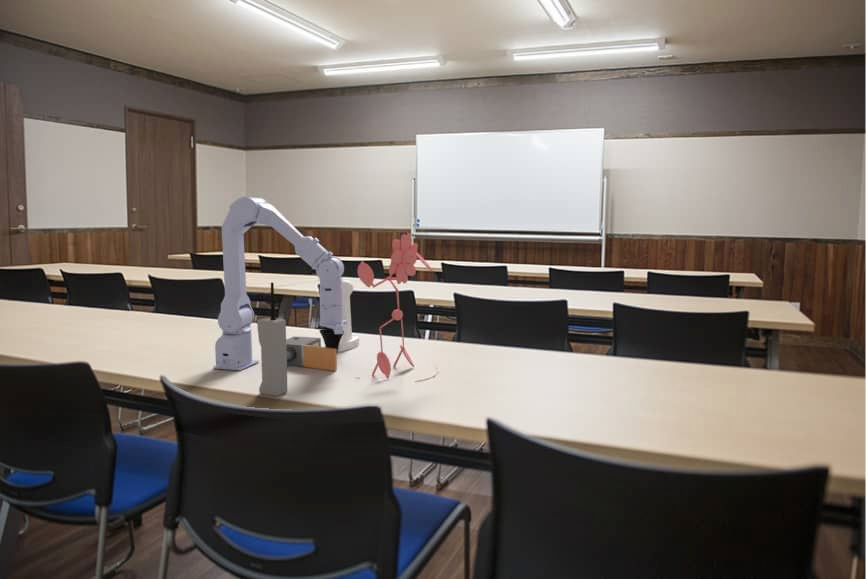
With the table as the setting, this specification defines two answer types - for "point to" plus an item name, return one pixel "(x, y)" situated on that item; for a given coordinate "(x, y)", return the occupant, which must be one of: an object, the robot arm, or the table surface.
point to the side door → (319, 357)
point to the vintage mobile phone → (273, 353)
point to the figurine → (403, 267)
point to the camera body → (298, 348)
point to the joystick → (347, 319)
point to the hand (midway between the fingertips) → (332, 356)
